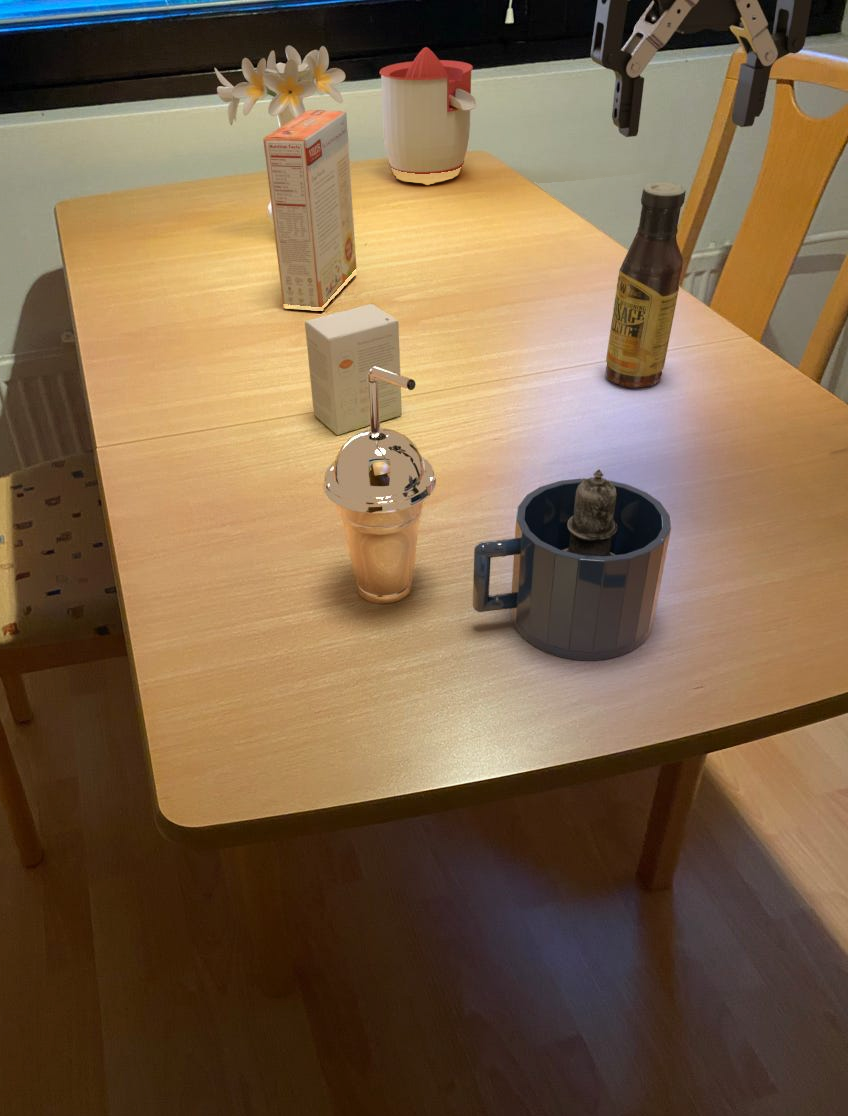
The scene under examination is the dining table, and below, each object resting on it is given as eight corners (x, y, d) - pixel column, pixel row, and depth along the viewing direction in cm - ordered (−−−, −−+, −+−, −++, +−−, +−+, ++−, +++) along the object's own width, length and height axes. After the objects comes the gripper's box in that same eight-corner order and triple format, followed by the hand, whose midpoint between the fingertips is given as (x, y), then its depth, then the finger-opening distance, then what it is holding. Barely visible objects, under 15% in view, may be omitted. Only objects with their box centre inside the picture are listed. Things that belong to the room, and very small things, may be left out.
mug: (624, 567, 79) (639, 471, 73) (673, 651, 71) (694, 550, 65) (458, 586, 78) (459, 491, 72) (488, 674, 70) (492, 574, 64)
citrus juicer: (440, 196, 162) (440, 59, 149) (364, 180, 171) (359, 51, 159) (496, 175, 170) (501, 43, 158) (421, 161, 180) (420, 36, 167)
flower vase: (233, 229, 154) (209, 47, 138) (347, 217, 156) (336, 36, 140) (239, 255, 144) (214, 63, 128) (361, 242, 146) (351, 51, 130)
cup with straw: (431, 553, 82) (429, 325, 69) (442, 619, 75) (442, 379, 62) (331, 560, 82) (311, 332, 69) (333, 626, 75) (311, 387, 62)
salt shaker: (551, 632, 72) (564, 494, 64) (537, 585, 77) (549, 451, 69) (629, 627, 72) (652, 489, 64) (611, 581, 77) (631, 446, 69)
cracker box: (318, 273, 136) (305, 108, 123) (358, 276, 134) (350, 109, 121) (279, 310, 126) (260, 134, 113) (321, 314, 124) (308, 136, 111)
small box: (377, 397, 105) (373, 301, 99) (403, 416, 102) (400, 319, 95) (312, 415, 103) (303, 319, 96) (335, 436, 99) (327, 338, 92)
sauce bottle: (593, 373, 107) (614, 182, 95) (641, 362, 109) (668, 173, 96) (625, 396, 103) (652, 199, 90) (675, 385, 104) (709, 189, 91)
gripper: (636, -156, 55) (605, 151, 66) (871, -173, 56) (805, 133, 67) (595, -156, 61) (573, 126, 71) (809, -171, 62) (757, 110, 72)
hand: (685, 129), depth 69 cm, fingers open, 8 cm apart
